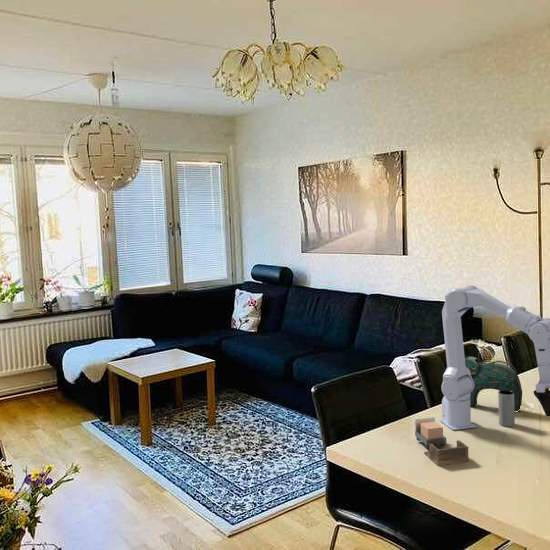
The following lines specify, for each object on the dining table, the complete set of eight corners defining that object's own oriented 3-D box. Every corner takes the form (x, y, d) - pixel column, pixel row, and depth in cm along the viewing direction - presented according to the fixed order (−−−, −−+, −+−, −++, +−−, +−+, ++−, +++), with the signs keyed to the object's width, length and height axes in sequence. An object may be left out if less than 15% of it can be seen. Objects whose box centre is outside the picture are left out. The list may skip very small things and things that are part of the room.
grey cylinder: (514, 422, 184) (514, 390, 183) (514, 427, 180) (513, 394, 179) (499, 421, 186) (498, 389, 185) (498, 426, 182) (497, 393, 181)
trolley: (415, 439, 174) (414, 419, 173) (434, 437, 175) (433, 417, 174) (426, 449, 166) (426, 428, 165) (446, 447, 167) (445, 426, 166)
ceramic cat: (459, 406, 202) (457, 349, 200) (464, 401, 208) (463, 345, 206) (520, 414, 191) (519, 354, 189) (524, 408, 196) (523, 350, 195)
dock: (424, 453, 164) (423, 439, 164) (454, 449, 166) (453, 435, 165) (437, 465, 156) (437, 450, 155) (468, 461, 157) (468, 446, 157)
